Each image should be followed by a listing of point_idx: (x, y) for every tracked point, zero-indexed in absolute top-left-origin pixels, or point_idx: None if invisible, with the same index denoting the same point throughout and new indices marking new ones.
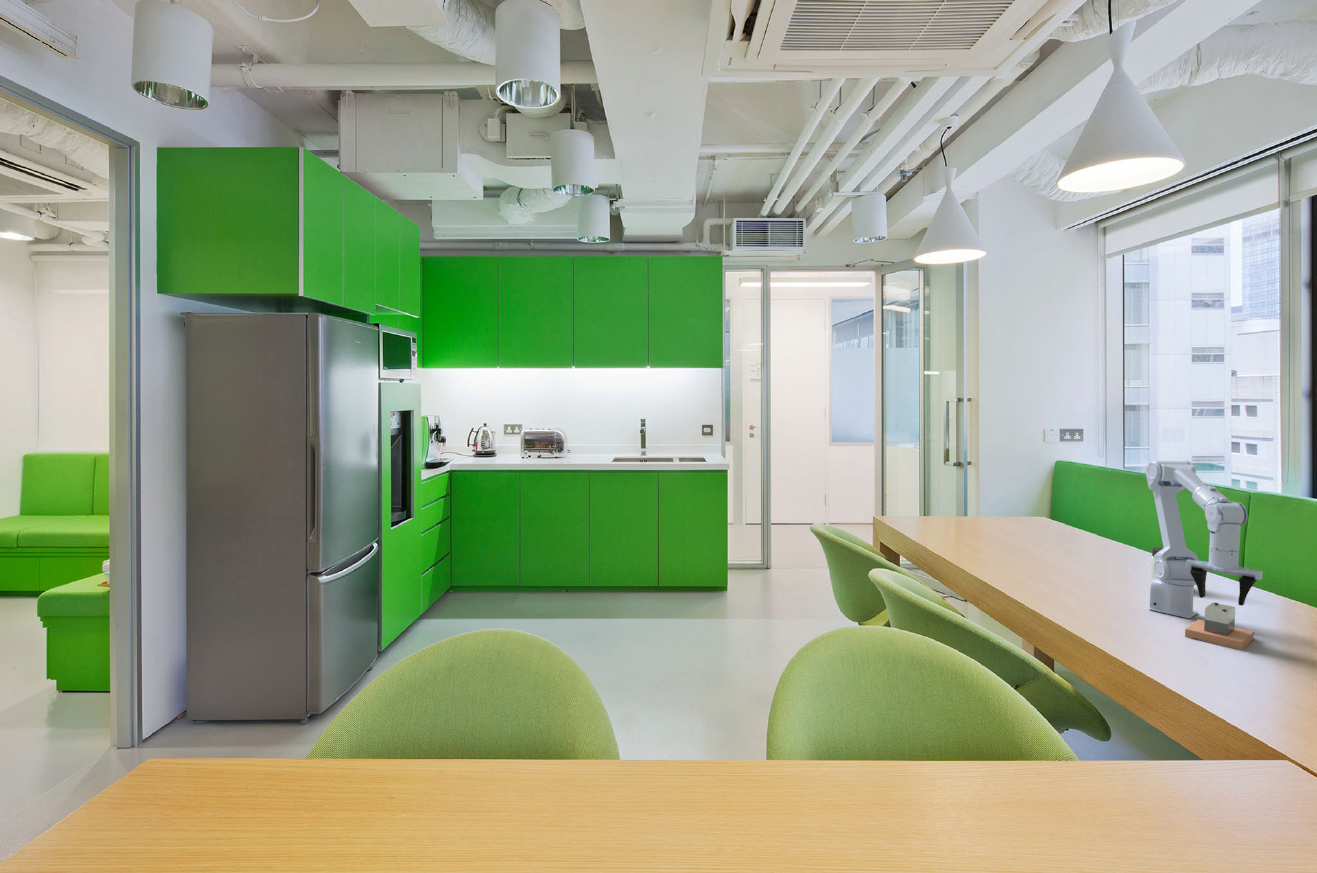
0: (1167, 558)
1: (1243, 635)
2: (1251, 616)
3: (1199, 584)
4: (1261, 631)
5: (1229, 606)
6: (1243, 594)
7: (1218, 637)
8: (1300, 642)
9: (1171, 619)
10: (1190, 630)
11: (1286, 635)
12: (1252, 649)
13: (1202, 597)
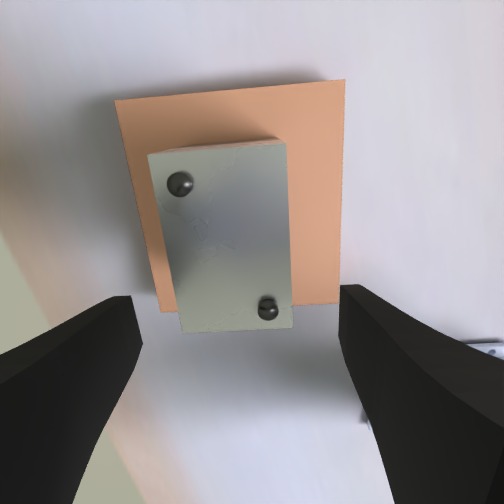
0: None
1: (155, 217)
2: (256, 496)
3: (413, 336)
4: (189, 391)
5: (205, 318)
6: (36, 339)
7: (206, 92)
8: None
9: (422, 296)
10: (321, 81)
11: (137, 406)
12: (117, 157)
13: (343, 286)
